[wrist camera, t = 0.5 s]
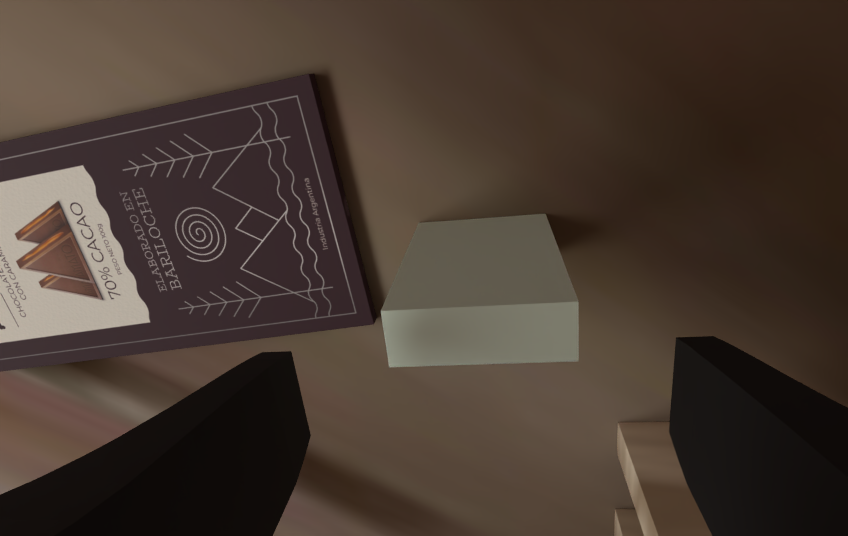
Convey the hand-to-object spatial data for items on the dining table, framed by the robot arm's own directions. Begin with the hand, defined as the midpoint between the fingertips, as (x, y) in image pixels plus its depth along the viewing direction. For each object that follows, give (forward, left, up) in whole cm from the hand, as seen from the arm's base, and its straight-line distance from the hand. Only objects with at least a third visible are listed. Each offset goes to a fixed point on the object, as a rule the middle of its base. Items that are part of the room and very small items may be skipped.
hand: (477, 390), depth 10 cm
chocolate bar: (-11, +7, -10) cm, 17 cm away
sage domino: (0, 0, -9) cm, 9 cm away
